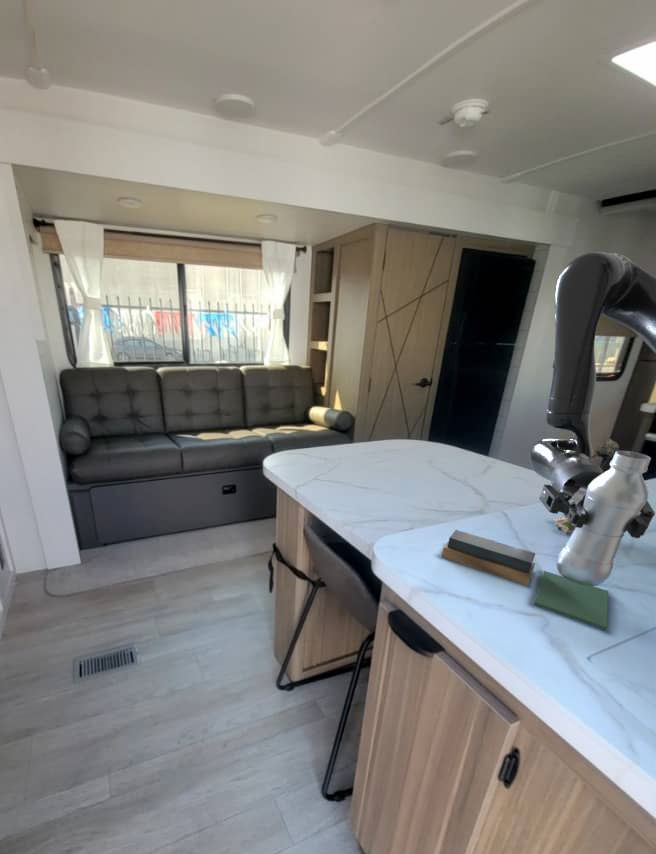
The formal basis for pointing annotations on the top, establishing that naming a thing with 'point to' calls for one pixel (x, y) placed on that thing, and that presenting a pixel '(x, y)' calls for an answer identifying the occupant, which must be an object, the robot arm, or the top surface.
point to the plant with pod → (606, 452)
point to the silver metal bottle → (605, 519)
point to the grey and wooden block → (490, 556)
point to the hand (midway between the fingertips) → (609, 526)
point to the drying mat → (573, 600)
